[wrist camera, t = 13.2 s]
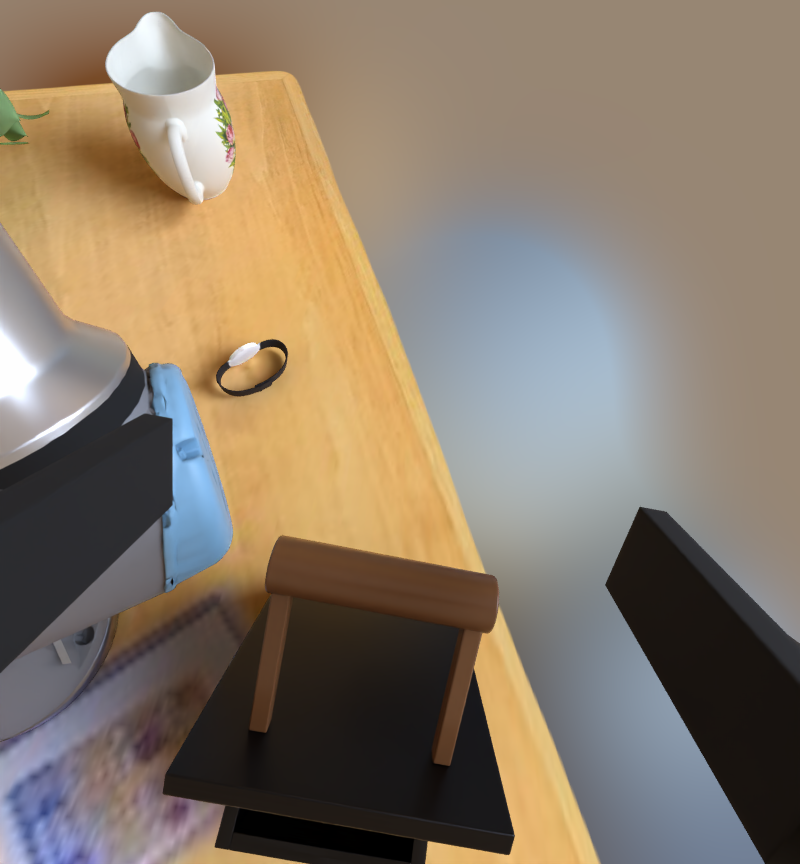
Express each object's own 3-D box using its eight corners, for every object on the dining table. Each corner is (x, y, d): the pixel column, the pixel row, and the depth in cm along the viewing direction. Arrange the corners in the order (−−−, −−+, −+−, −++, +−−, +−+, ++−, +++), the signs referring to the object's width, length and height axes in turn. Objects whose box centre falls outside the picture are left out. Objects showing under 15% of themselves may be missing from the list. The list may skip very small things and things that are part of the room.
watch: (274, 341, 48) (269, 320, 45) (300, 371, 47) (296, 352, 44) (211, 378, 46) (200, 359, 43) (237, 410, 45) (227, 394, 41)
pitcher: (159, 244, 52) (97, 124, 39) (152, 142, 58) (98, 11, 46) (254, 235, 54) (225, 117, 41) (238, 137, 61) (208, 10, 48)
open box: (403, 813, 33) (423, 884, 24) (251, 786, 33) (214, 847, 24) (430, 608, 39) (454, 603, 30) (301, 583, 39) (286, 572, 30)
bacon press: (510, 856, 15) (572, 627, 13) (161, 795, 14) (195, 556, 13) (454, 608, 30) (481, 491, 29) (285, 576, 30) (305, 457, 28)
